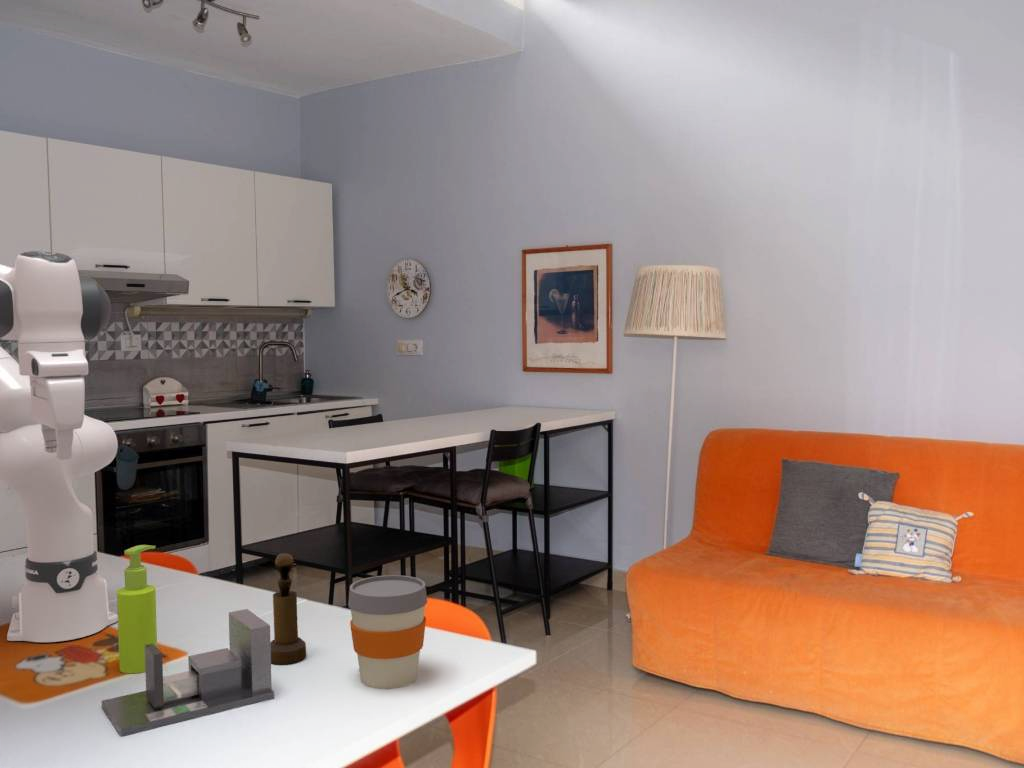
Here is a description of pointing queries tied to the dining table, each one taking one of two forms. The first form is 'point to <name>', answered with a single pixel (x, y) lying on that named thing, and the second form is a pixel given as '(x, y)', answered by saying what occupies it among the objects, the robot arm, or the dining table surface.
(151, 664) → the plunger
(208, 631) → the dining table surface
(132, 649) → the soap dispenser
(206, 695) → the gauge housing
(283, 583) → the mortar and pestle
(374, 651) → the reusable coffee cup
